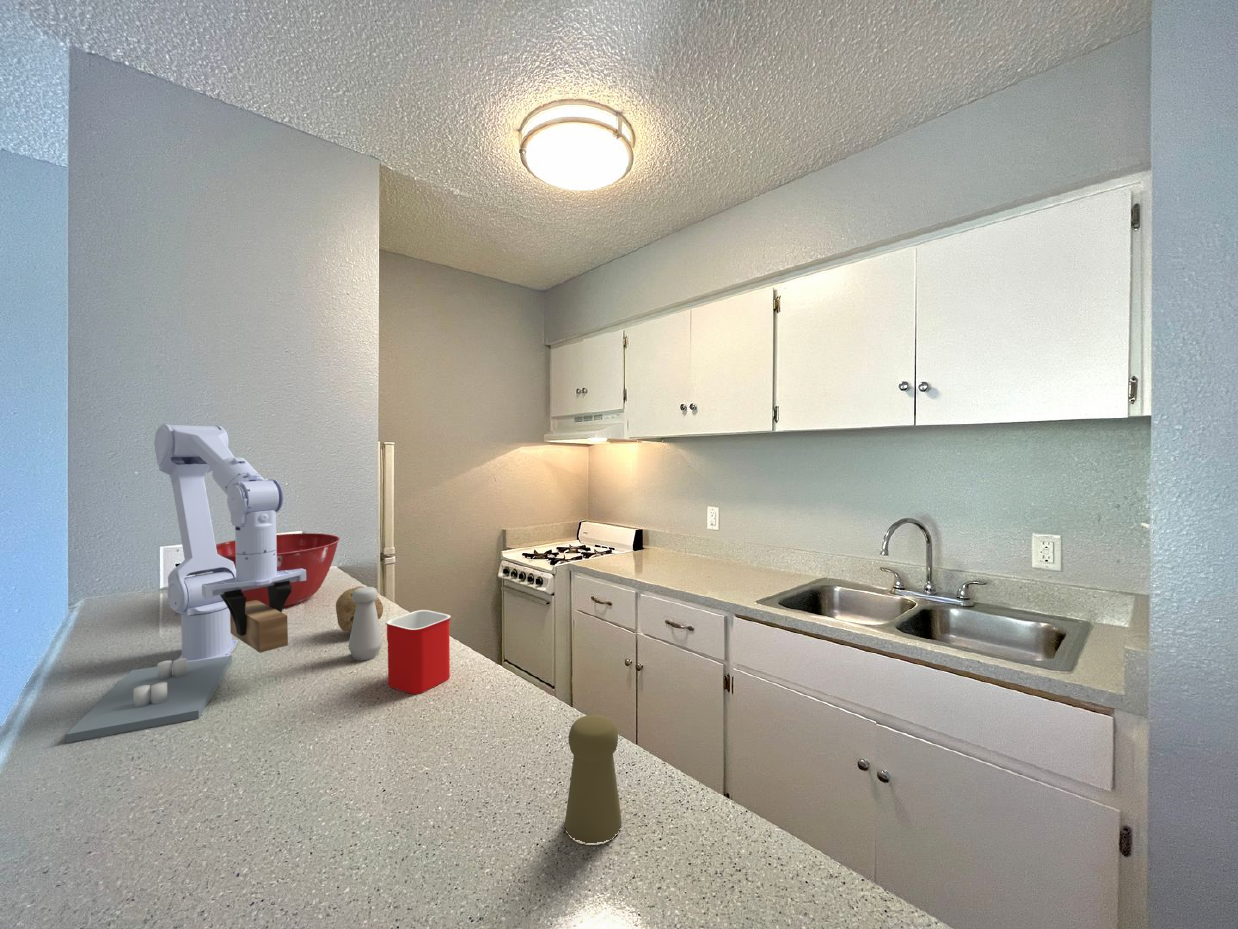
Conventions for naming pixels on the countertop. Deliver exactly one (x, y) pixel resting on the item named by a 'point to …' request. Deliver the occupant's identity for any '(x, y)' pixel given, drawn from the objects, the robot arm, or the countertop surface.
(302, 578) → the robot arm
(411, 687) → the red rectangular container
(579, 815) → the olive pawn
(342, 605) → the natural sponge
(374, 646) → the salt shaker
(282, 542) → the mixing bowl
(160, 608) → the countertop surface
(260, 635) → the wooden block
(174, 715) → the peg rack
